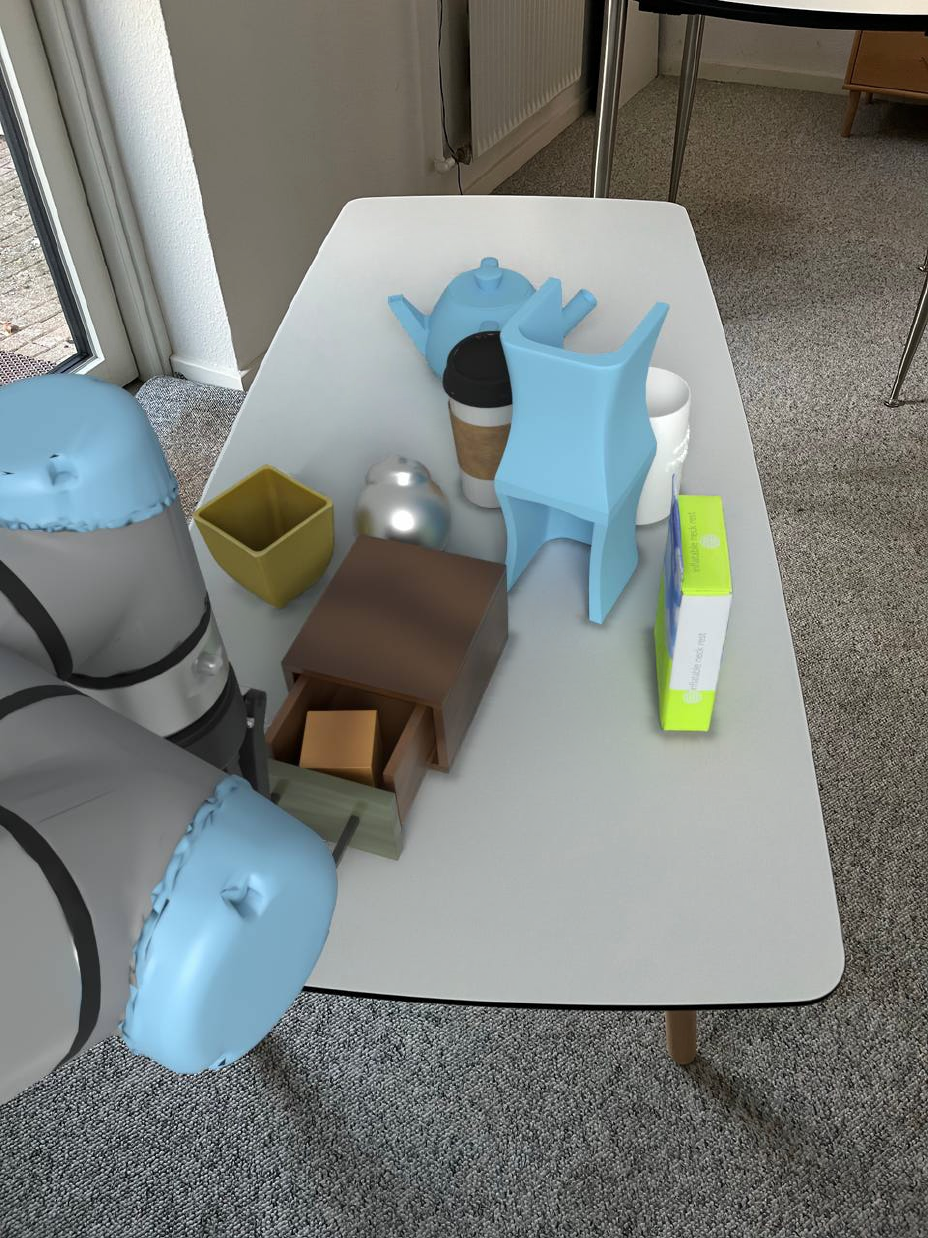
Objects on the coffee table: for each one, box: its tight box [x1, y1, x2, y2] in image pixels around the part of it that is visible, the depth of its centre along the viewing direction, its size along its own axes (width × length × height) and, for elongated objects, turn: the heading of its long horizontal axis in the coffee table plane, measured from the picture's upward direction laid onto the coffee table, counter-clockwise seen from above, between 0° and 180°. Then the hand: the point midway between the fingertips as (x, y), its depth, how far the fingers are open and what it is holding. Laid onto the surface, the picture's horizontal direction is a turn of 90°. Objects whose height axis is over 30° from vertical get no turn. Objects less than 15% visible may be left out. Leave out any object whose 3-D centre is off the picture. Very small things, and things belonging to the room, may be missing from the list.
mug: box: [636, 366, 692, 526], centre depth 99 cm, size 8×12×12 cm
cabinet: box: [280, 534, 509, 775], centre depth 84 cm, size 15×13×9 cm
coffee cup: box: [442, 331, 513, 509], centre depth 98 cm, size 8×8×15 cm
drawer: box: [264, 674, 437, 870], centre depth 76 cm, size 20×11×7 cm, turn 160°
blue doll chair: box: [494, 276, 670, 625], centre depth 86 cm, size 10×10×25 cm
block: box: [299, 710, 384, 789], centre depth 77 cm, size 5×5×5 cm
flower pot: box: [191, 464, 335, 610], centre depth 93 cm, size 9×9×9 cm
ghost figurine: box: [351, 454, 453, 551], centre depth 94 cm, size 9×10×10 cm
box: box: [653, 473, 734, 732], centre depth 80 cm, size 10×4×17 cm, turn 176°
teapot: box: [387, 256, 598, 381], centre depth 114 cm, size 15×17×11 cm
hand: (251, 926), depth 67 cm, fingers closed
